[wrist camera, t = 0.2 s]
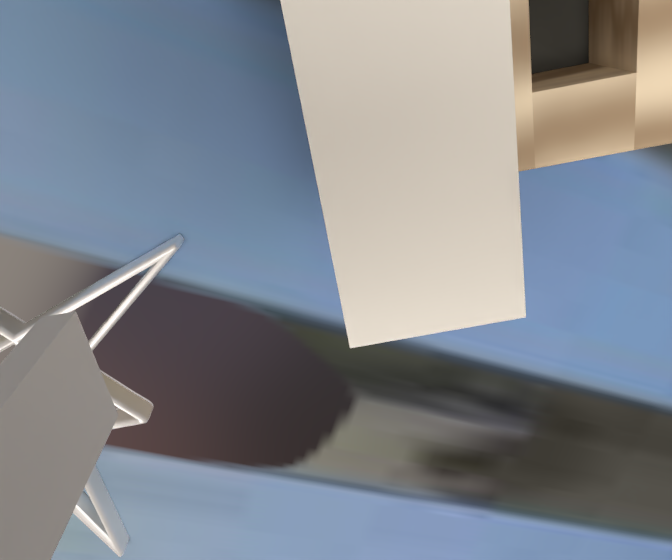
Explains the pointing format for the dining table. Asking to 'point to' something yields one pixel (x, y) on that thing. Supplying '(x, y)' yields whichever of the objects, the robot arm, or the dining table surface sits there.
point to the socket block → (596, 86)
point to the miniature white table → (413, 159)
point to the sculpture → (131, 405)
